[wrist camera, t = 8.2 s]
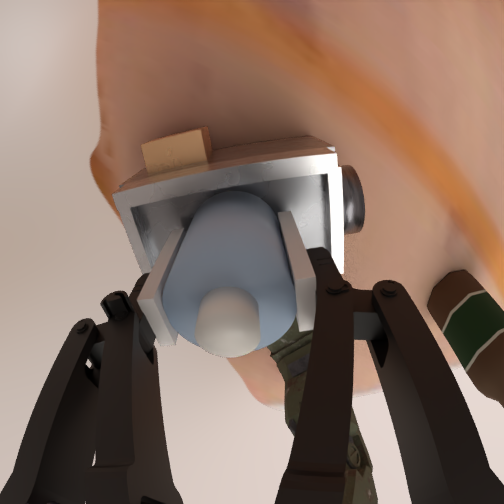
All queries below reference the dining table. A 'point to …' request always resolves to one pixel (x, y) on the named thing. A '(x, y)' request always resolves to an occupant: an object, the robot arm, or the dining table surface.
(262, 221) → the light blue bottle
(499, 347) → the beer bottle
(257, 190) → the open grey metal box
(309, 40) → the dining table surface
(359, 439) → the mechanical leg
